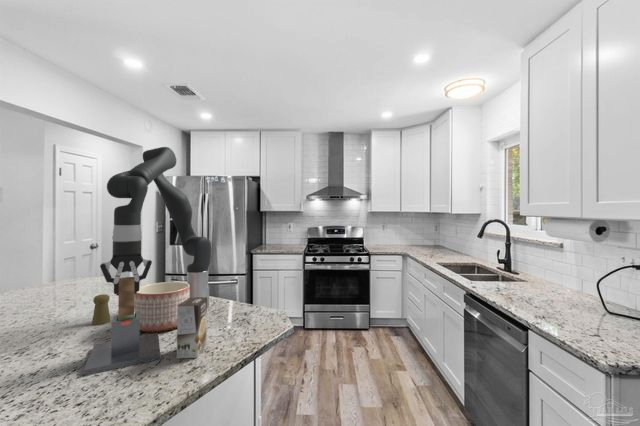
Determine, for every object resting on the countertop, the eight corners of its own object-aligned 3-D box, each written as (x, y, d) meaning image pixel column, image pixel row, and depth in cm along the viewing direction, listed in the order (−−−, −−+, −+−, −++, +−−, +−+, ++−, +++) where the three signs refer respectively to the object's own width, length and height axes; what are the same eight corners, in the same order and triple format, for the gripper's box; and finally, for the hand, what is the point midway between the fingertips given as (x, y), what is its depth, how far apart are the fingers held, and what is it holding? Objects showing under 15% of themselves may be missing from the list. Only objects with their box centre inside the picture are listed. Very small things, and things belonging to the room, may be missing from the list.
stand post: (134, 325, 92) (135, 276, 93) (134, 330, 89) (135, 278, 89) (118, 328, 90) (119, 277, 90) (117, 333, 86) (118, 280, 87)
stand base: (158, 336, 102) (158, 304, 102) (160, 358, 86) (160, 320, 87) (94, 348, 92) (94, 313, 92) (84, 375, 77) (84, 333, 77)
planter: (199, 319, 119) (200, 283, 119) (160, 338, 101) (160, 296, 101) (164, 313, 125) (164, 280, 125) (121, 330, 107) (122, 291, 107)
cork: (100, 325, 111) (100, 297, 111) (87, 324, 112) (88, 296, 113) (114, 320, 117) (114, 293, 117) (102, 319, 118) (102, 292, 118)
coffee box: (197, 358, 87) (198, 305, 87) (176, 359, 86) (176, 305, 86) (207, 344, 96) (207, 296, 96) (187, 345, 95) (188, 297, 96)
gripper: (153, 237, 97) (152, 288, 96) (100, 239, 89) (99, 294, 89) (153, 239, 90) (153, 293, 90) (97, 241, 83) (96, 300, 83)
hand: (126, 293), depth 90 cm, fingers closed on stand post, 4 cm apart
